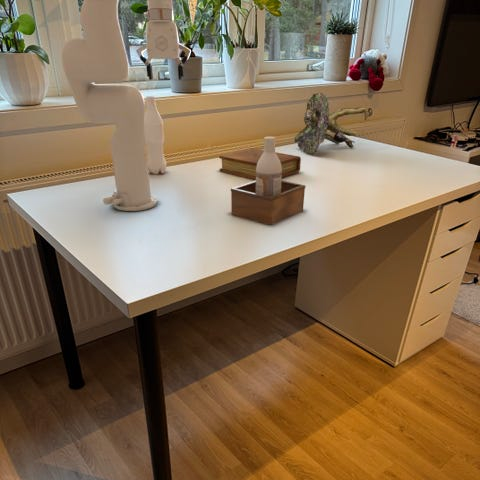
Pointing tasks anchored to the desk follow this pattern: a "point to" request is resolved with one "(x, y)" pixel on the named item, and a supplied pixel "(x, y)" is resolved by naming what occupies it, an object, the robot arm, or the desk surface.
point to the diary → (247, 162)
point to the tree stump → (323, 125)
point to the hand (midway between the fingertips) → (165, 79)
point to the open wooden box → (267, 202)
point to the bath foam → (268, 170)
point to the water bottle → (154, 137)
